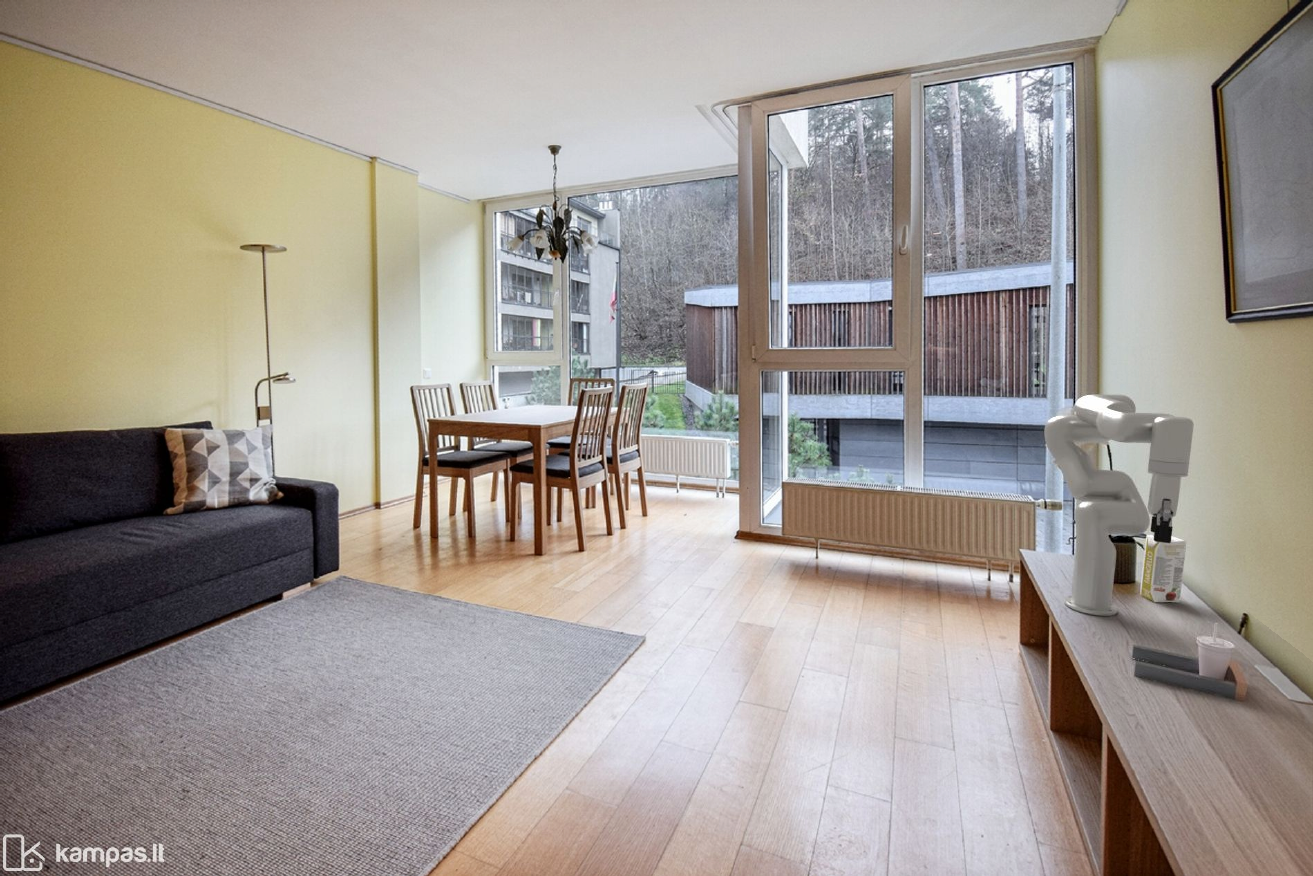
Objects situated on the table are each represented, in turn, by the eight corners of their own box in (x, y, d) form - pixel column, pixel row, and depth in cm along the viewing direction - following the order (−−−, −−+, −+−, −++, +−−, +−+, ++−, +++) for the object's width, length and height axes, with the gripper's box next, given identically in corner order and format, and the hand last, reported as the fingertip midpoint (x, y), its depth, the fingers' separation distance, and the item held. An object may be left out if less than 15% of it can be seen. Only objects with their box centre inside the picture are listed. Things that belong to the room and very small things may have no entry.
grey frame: (1131, 656, 152) (1133, 640, 151) (1234, 678, 141) (1237, 662, 141) (1134, 676, 142) (1136, 659, 142) (1245, 701, 132) (1247, 684, 131)
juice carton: (1184, 604, 184) (1191, 541, 182) (1154, 604, 184) (1161, 541, 182) (1163, 594, 192) (1170, 534, 189) (1135, 594, 192) (1141, 534, 189)
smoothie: (1184, 678, 141) (1192, 619, 139) (1202, 673, 144) (1210, 615, 142) (1218, 692, 135) (1226, 631, 134) (1236, 687, 138) (1244, 626, 136)
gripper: (1145, 461, 160) (1138, 527, 162) (1150, 471, 146) (1143, 543, 148) (1184, 464, 156) (1176, 531, 158) (1193, 475, 141) (1184, 548, 144)
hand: (1160, 537), depth 153 cm, fingers open, 9 cm apart
